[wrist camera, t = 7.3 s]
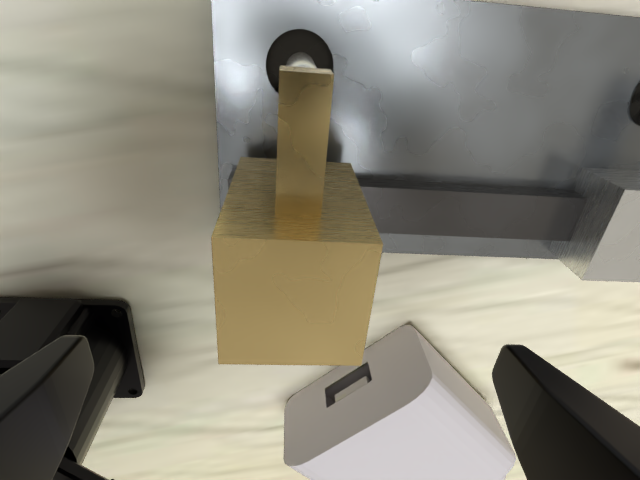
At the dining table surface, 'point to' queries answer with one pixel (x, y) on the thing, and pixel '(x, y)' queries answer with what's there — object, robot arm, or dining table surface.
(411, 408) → the charger
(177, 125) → the dining table surface
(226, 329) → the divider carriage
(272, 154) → the dividers base
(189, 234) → the dining table surface
